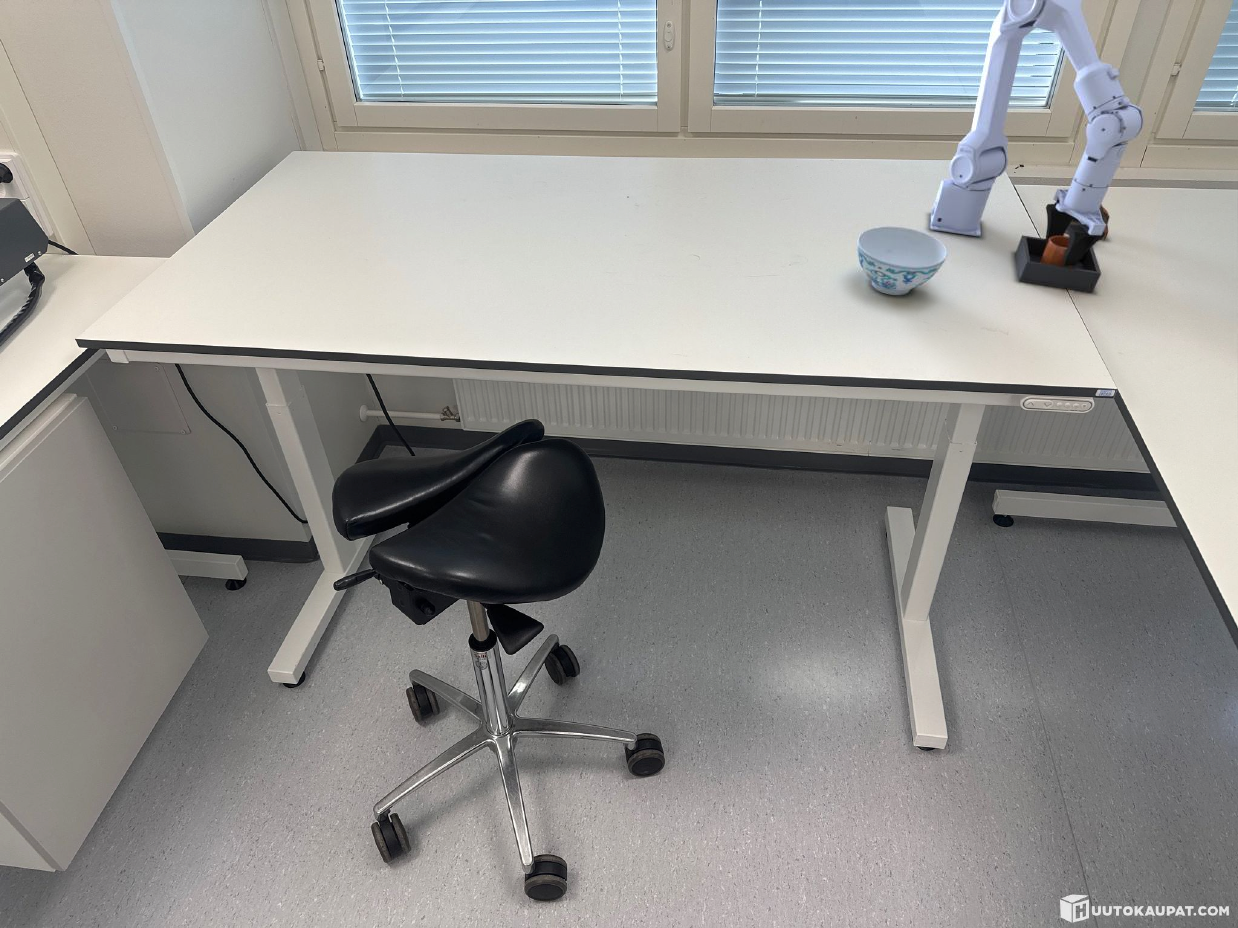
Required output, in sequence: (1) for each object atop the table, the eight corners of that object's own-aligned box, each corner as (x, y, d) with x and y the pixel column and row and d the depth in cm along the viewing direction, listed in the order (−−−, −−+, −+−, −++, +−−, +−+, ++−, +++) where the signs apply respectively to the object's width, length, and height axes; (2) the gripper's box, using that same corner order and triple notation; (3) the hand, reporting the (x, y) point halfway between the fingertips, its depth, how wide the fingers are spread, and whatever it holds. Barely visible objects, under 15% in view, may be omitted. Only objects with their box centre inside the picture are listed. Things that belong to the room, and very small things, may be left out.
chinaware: (887, 315, 135) (899, 273, 130) (831, 275, 145) (840, 235, 140) (952, 296, 141) (966, 256, 135) (894, 259, 150) (905, 220, 145)
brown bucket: (1045, 277, 146) (1057, 249, 142) (1033, 262, 150) (1044, 235, 146) (1074, 277, 146) (1087, 249, 142) (1061, 263, 150) (1073, 235, 146)
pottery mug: (1115, 249, 157) (1115, 218, 151) (1061, 263, 161) (1059, 233, 155) (1099, 209, 164) (1099, 177, 158) (1048, 223, 168) (1046, 193, 162)
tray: (1019, 281, 145) (1026, 262, 143) (1015, 253, 154) (1022, 235, 151) (1092, 293, 143) (1101, 273, 140) (1084, 264, 151) (1092, 245, 149)
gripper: (1050, 164, 142) (1022, 236, 151) (1088, 199, 131) (1055, 273, 140) (1089, 165, 142) (1058, 236, 151) (1130, 199, 131) (1095, 274, 141)
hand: (1059, 254), depth 146 cm, fingers open, 7 cm apart
